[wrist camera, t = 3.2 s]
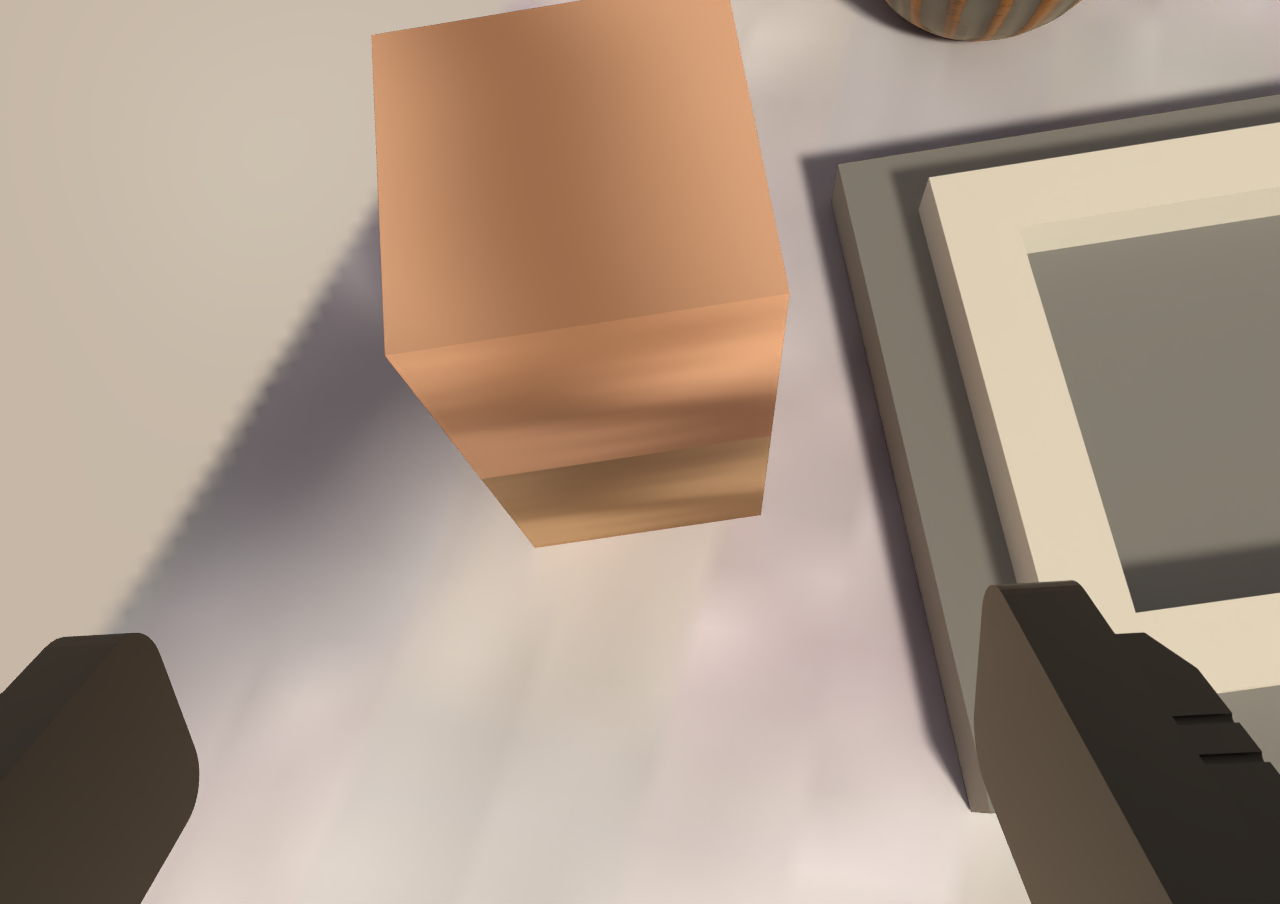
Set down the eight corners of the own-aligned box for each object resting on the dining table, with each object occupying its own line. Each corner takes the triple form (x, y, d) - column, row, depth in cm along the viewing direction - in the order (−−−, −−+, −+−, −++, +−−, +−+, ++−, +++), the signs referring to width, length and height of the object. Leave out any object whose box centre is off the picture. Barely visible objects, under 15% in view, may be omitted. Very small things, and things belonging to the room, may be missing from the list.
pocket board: (1417, 109, 23) (1503, 25, 20) (1712, 712, 18) (1872, 699, 16) (831, 201, 23) (844, 130, 21) (970, 811, 19) (1009, 815, 16)
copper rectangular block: (724, 312, 23) (725, -24, 13) (760, 514, 21) (789, 293, 12) (516, 344, 23) (371, 34, 14) (535, 547, 21) (384, 355, 12)
